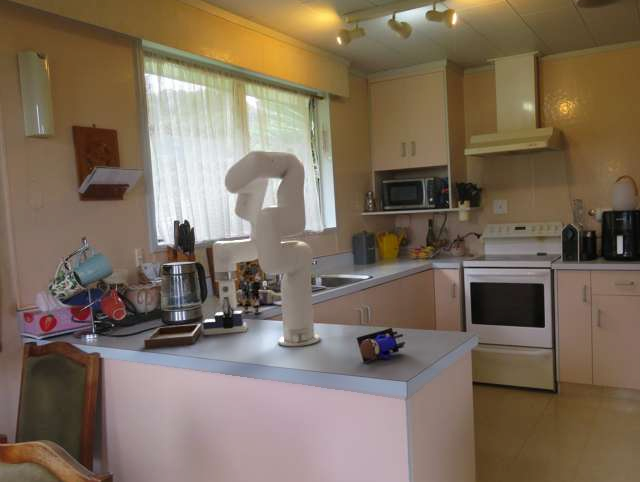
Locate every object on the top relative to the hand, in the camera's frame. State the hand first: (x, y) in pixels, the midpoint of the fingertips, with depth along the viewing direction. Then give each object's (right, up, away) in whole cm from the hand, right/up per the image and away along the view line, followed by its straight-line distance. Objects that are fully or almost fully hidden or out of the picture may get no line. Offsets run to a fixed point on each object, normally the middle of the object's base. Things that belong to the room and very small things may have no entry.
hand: (229, 325), depth 190 cm
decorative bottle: (-1, +2, +55) cm, 55 cm away
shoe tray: (-16, -4, -9) cm, 19 cm away
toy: (+1, 0, +33) cm, 33 cm away
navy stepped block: (-1, -2, 0) cm, 3 cm away
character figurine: (+53, -3, -46) cm, 70 cm away
